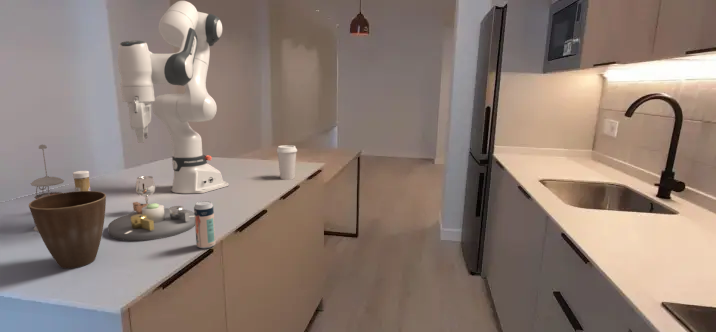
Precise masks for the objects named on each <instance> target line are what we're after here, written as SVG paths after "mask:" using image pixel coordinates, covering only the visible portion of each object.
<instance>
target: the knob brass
mask: <svg viewBox="0 0 716 332" xmlns="http://www.w3.org/2000/svg"><path fill="white" fill-rule="evenodd" d="M131 226H132V228H135V229H137V228H144V229H147V230H154V222H153V220H150V219H147V217H146V215H145V214H137V215H133V216H131Z"/></svg>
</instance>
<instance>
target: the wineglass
mask: <svg viewBox="0 0 716 332" xmlns="http://www.w3.org/2000/svg"><path fill="white" fill-rule="evenodd" d="M135 182H136V183H135V191H136V193H137V194H138V195H139V196H141V197H145V198H144V200H145V204H149V196H152V195H153V194H154V193H155V191H156V184H155V183H156V182H155V180H154V177H153V176H151V175H143V176H138V177H136V181H135Z"/></svg>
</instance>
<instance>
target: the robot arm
mask: <svg viewBox="0 0 716 332" xmlns="http://www.w3.org/2000/svg"><path fill="white" fill-rule="evenodd" d="M158 32H159V34H160V36H161V38H162V39H163V40H164V41H165V42H166V43H167V44H168V45H170V46H172V47H174V48H179V49H178V51H177V52H173V53H153V52H152V51H150V50H149V46H148V43H147V42H146V41H143V40H125V41H122V42H120V43H119V44H118V49H117V65H118V72H119V75H120V77H121V82H120V90H121V91H120V93H121V98H122V99H121V100H122V102H124V103H127V107H128V111H129V112H128V115H129V126H130V129H131V130H134V131H135V135H136V138H137V143H138V144H144V143H145V142H146V140H145V139H149V126H148V125H149V124H150V123H151V122H152V111H153V115H154V116H155V117H156V118H157V119H159V120H160V121H161V122H162V123H163V124H164V126H165V128H166V129H167V131H168V133H169V136H170V139H171V145H172V157H171V158H172V170H173V180H172V181H173V182H172V187H171V192H173V193H174V194H175V193H176V194H204V193H207V192H212V191H215V190H219V189H222V188H225V187H226V188H227V187H228V186H229V182H228V181H225V180H224V178H223V176H222V172H221V171H220V170H219V169H217V168H216V167H214V166H212V165H211V164H209V163H208V161H211V159H212V156H211V155H205V154H203V143H202V142H203V140H202V136H201V135H200V133H198V132H197V131H196V130H194V129H193V128H192V127H191V126H190V125H191V124H190V123H189V122H192V123H197V122H198V123H201V122H208V121H211V120H213V119H214V118H215V116H216V114H217V110H218V106H217V103H216V101H215V99H214V98H213V97H212V96H211V95H210V93H208V89H207V85H206V83H207V75H208V70H209V64H210V56H211V55H210V54H211V52H210V49H211V48H210V47H213V46H214V45H215V44H216V43H217V42H218V41H219V40H220V39H221V38H222V34H223V24H222V20H221V18H220V17H219V16H217V15H215V14H213V13H206V12H202V11H201V12H200V11H198V10H197V8H196V6H195V5H194V4H193V3H191V2H189V1H186V0H178V1H175V2H174V3H173V4H172V5H171V6H169V8H168V9H167V10H166V11H165V12H164V14H163V15H162V16H161V18H160V20H159V23H158ZM154 85H173V86H181V87H182V86H183V87H184V89H185V91H184V93H165V94H160V95H156V97H155V88H154Z"/></svg>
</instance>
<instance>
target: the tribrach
mask: <svg viewBox="0 0 716 332" xmlns="http://www.w3.org/2000/svg"><path fill="white" fill-rule="evenodd" d="M169 208H170V207H167V208H165V205H163V204H159V203H156V202H155V203H148V205H147V206H145V207H143V208H142V214H145V215H146V217H147V219H150V220H153V222H154V230H147V229H144V228H137V229H135V228H132V226H131V216H133V215H137V212H136V211H134V212H132V213H128V214H125V215H122V216H119V217H117V218H115V219H114V220H112V221H110V222H109V224H108V225H107V229H108V234H109V237H111V238H113V239H115V240H121V241H128V242H140V241H141V242H142V241H151V240H152V241H153V240H160V239H164V238H165V239H166V238H170V237H174V236H177V235H180V234H183V233H186V232H187V231H189V230H191V229H193V228H194V227H195V216H194V211H191V210H188V209H185V208H184V210H185V211H187V212H189V221H183V220H181V219H171V218H170V211H169Z"/></svg>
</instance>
